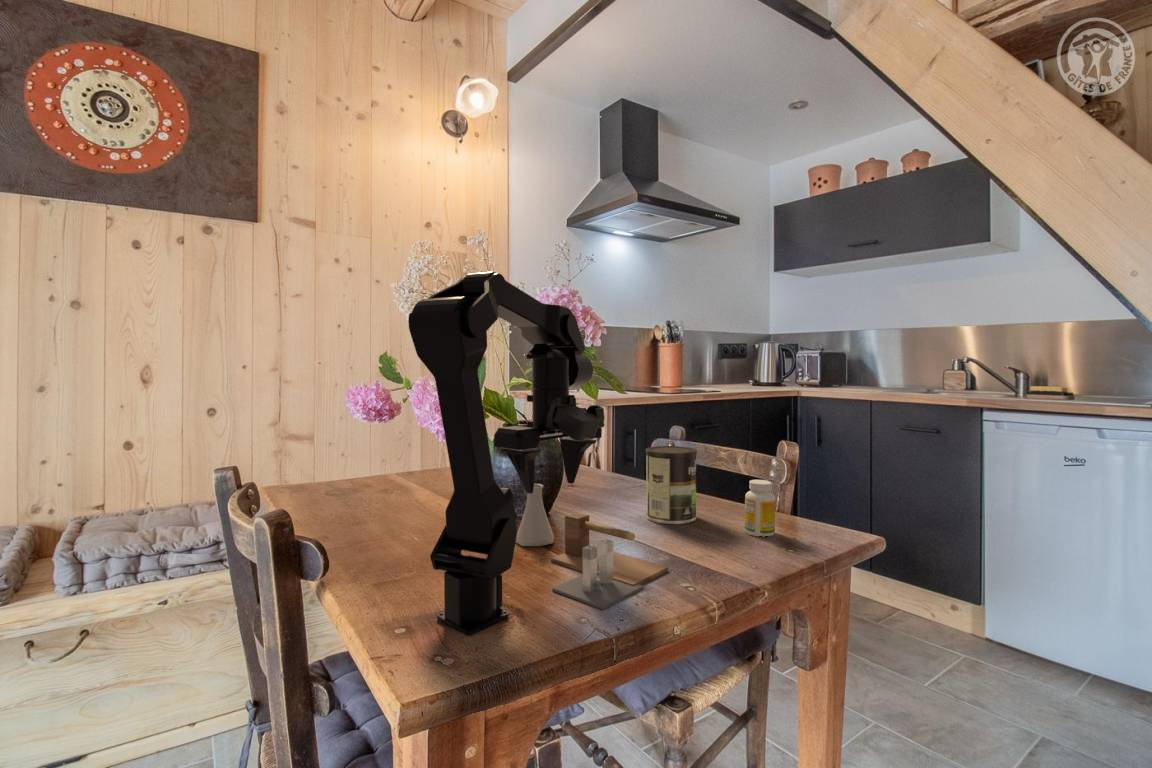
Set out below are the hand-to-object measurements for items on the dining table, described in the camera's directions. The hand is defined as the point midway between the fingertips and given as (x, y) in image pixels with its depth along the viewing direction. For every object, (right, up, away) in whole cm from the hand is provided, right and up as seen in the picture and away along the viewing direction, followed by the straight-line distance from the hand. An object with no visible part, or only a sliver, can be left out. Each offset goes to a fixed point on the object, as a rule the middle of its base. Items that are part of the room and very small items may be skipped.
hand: (551, 488), depth 87 cm
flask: (-3, -12, +12) cm, 17 cm away
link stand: (+9, -12, 0) cm, 15 cm away
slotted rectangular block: (+7, -12, -10) cm, 17 cm away
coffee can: (+23, -11, +27) cm, 37 cm away
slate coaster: (+7, -12, -10) cm, 17 cm away
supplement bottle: (+38, -12, +16) cm, 43 cm away
